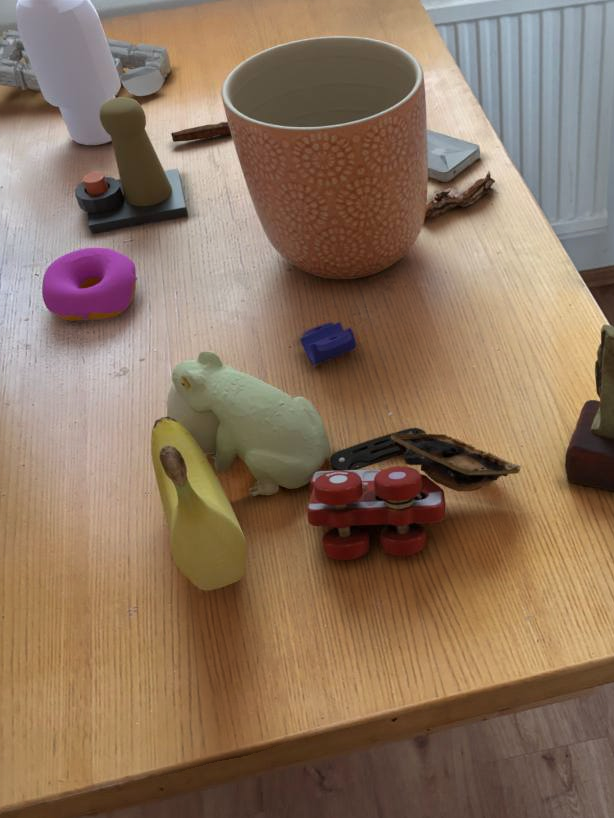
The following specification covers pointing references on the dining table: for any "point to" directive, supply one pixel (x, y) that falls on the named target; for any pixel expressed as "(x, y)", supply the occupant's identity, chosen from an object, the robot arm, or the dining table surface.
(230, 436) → the figurine
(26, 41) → the soap bottle
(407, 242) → the planter
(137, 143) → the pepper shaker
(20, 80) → the architectural model
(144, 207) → the push button panel
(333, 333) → the bracket
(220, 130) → the kitchen knife
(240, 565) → the banana
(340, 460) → the folding knife
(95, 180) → the button
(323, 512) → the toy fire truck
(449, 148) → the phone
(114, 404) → the dining table surface
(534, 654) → the dining table surface
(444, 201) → the tree bark
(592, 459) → the small statue on base
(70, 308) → the donut
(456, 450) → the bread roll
